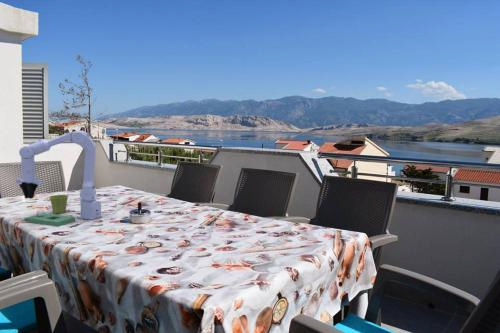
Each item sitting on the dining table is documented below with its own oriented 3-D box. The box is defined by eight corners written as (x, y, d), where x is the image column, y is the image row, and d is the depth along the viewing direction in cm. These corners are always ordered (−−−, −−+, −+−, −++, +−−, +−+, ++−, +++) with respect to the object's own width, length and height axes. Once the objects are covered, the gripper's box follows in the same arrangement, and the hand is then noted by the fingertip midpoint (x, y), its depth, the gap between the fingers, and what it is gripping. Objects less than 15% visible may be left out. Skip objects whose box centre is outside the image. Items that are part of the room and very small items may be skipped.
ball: (46, 215, 194) (46, 208, 193) (40, 217, 191) (40, 210, 190) (40, 215, 195) (40, 208, 195) (34, 216, 192) (34, 209, 191)
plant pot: (54, 215, 204) (54, 198, 203) (46, 212, 209) (45, 196, 208) (72, 212, 211) (72, 196, 210) (63, 209, 217) (62, 194, 216)
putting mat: (75, 221, 193) (75, 217, 193) (57, 226, 183) (57, 222, 182) (43, 216, 199) (43, 213, 199) (24, 221, 189) (24, 217, 189)
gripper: (9, 170, 191) (10, 198, 193) (32, 172, 187) (33, 200, 188) (22, 169, 198) (23, 195, 199) (44, 170, 193) (45, 198, 195)
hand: (29, 198), depth 194 cm, fingers closed
